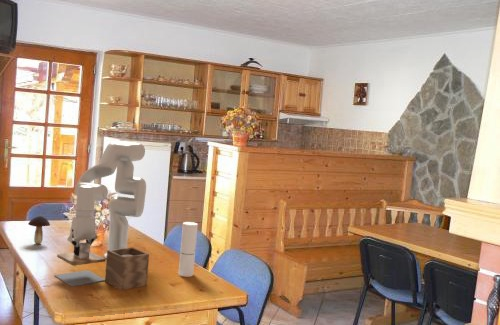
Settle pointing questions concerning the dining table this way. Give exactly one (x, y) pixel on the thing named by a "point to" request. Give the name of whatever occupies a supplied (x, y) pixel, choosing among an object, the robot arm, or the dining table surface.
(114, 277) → the box
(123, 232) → the robot arm
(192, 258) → the cylindrical container
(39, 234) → the decorative mushroom
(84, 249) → the lid
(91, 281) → the mat
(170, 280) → the dining table surface
